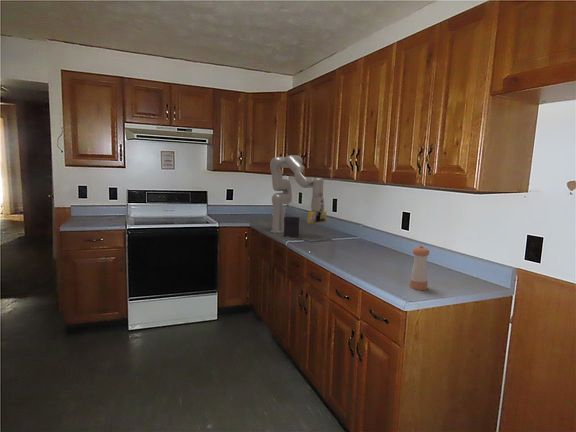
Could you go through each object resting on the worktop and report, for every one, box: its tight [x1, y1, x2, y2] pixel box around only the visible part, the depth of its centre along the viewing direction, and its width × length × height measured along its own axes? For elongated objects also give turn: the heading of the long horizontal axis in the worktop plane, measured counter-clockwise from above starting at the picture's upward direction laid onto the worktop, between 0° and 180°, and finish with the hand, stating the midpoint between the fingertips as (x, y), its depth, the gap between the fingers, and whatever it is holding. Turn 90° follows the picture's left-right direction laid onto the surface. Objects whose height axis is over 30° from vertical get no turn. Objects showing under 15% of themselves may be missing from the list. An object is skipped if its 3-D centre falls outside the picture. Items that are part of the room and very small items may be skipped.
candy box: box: [306, 210, 327, 225], centre depth 265 cm, size 16×2×8 cm, turn 124°
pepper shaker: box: [409, 245, 430, 291], centre depth 164 cm, size 7×7×19 cm
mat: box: [300, 235, 332, 244], centre depth 268 cm, size 12×19×1 cm, turn 124°
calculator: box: [283, 216, 300, 238], centre depth 277 cm, size 11×4×15 cm, turn 76°
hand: (316, 220), depth 266 cm, fingers closed on candy box, 2 cm apart
